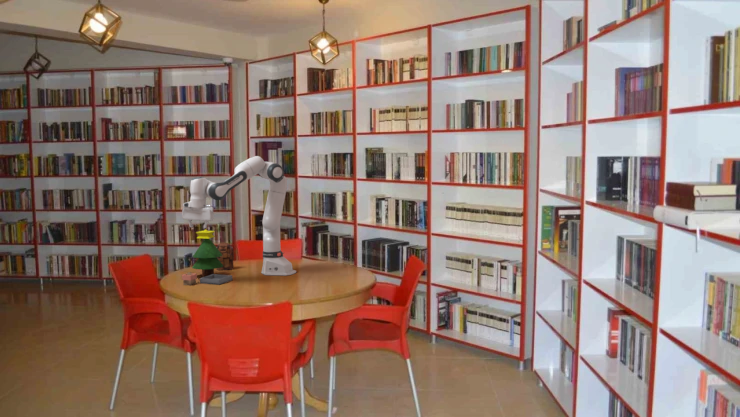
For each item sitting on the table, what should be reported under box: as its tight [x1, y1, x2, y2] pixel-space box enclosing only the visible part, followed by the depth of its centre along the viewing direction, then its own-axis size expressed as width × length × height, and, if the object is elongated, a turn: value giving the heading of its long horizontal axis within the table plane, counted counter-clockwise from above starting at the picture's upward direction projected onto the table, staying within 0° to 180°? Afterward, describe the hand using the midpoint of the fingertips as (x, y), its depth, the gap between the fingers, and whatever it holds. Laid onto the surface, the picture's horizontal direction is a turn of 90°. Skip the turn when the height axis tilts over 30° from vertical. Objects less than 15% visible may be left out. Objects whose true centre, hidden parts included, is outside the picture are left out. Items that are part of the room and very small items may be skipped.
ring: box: [181, 272, 198, 281], centre depth 357 cm, size 6×6×3 cm
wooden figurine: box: [216, 242, 235, 271], centre depth 403 cm, size 12×6×18 cm, turn 100°
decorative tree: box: [191, 228, 223, 278], centre depth 380 cm, size 19×19×30 cm
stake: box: [182, 271, 197, 286], centre depth 357 cm, size 5×5×7 cm
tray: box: [199, 273, 233, 286], centre depth 364 cm, size 14×14×3 cm
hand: (198, 227), depth 358 cm, fingers open, 8 cm apart
